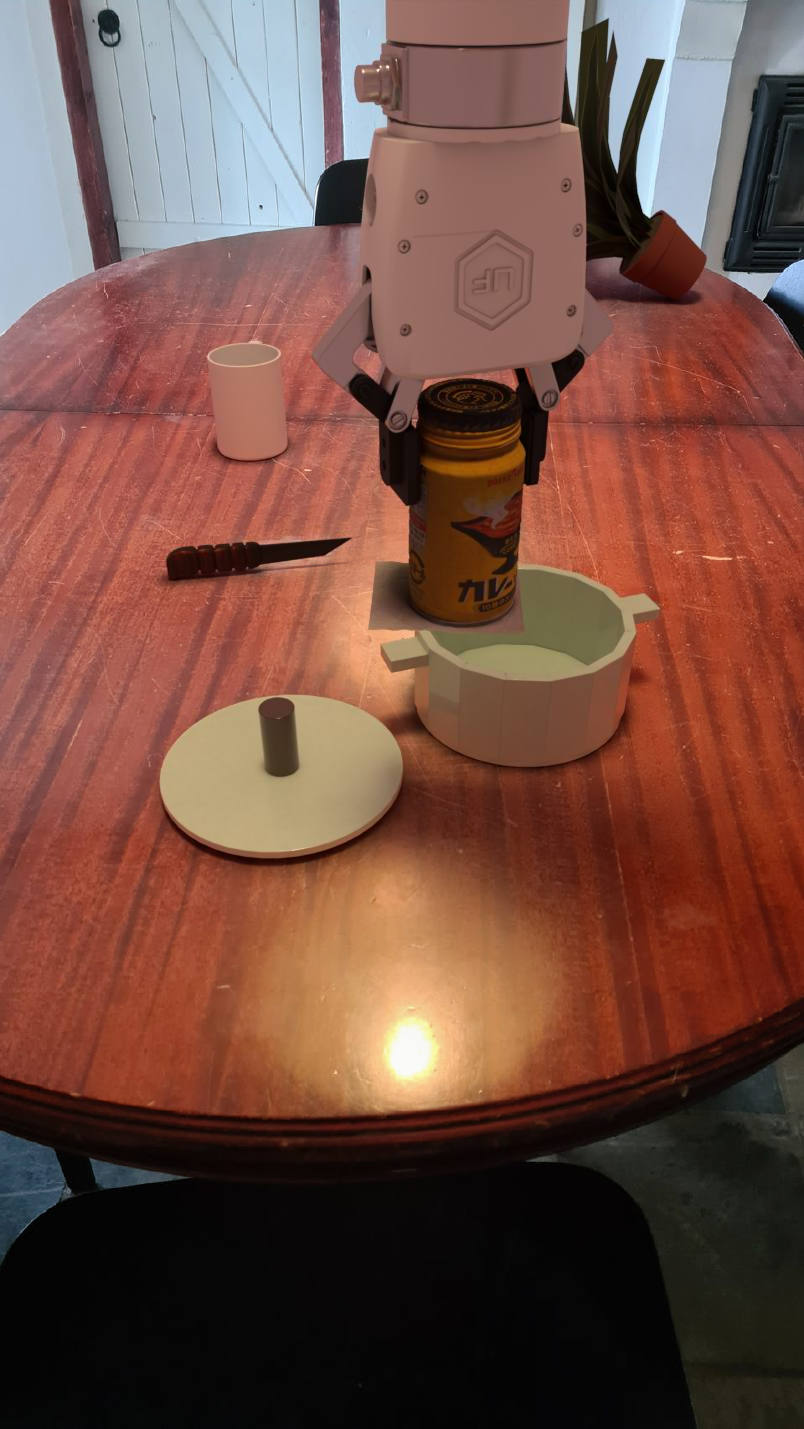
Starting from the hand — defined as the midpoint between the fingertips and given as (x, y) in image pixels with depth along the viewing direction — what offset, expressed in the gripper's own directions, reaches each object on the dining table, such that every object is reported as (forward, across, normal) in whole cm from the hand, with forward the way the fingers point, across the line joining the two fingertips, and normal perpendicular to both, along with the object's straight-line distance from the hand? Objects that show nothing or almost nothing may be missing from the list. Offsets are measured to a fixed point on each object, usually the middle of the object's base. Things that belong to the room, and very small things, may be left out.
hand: (462, 482), depth 55 cm
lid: (+23, -10, +7) cm, 26 cm away
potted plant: (+23, +62, +104) cm, 123 cm away
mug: (+23, +2, +66) cm, 70 cm away
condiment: (+7, -1, 0) cm, 7 cm away
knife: (+24, -4, +36) cm, 43 cm away
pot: (+23, +9, +10) cm, 27 cm away
